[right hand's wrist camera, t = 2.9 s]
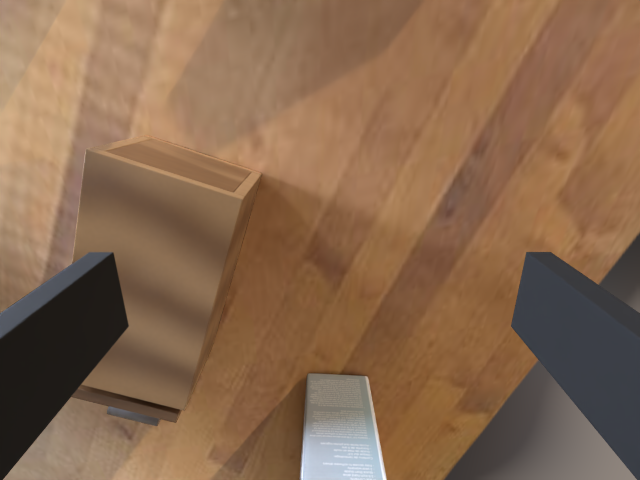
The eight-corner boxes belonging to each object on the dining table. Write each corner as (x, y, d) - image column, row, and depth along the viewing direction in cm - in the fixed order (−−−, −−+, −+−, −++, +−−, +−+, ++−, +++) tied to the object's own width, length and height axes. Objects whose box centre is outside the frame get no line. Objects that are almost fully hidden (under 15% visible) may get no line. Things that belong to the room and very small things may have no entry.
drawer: (190, 403, 46) (165, 463, 39) (106, 381, 45) (62, 439, 37) (244, 211, 38) (224, 240, 30) (141, 178, 36) (94, 200, 29)
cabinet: (213, 344, 44) (184, 411, 35) (115, 317, 43) (58, 379, 34) (262, 172, 37) (242, 199, 28) (146, 134, 36) (85, 148, 27)
